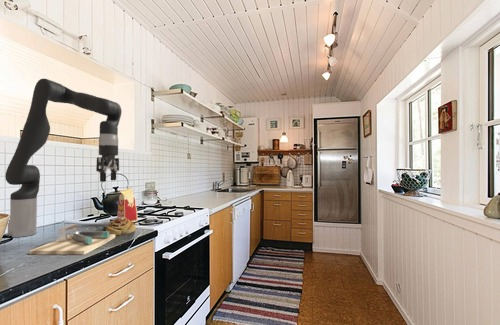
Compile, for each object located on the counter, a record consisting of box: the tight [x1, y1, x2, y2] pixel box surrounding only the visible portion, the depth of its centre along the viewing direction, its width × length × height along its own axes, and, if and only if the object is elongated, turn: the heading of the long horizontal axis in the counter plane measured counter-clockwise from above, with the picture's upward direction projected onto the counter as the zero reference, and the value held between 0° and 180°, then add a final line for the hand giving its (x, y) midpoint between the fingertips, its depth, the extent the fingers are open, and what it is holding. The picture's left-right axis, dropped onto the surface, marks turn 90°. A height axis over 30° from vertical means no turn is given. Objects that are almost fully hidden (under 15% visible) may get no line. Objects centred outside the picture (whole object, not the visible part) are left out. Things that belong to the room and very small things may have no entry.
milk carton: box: [116, 186, 138, 223], centre depth 141 cm, size 9×9×20 cm
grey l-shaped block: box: [57, 223, 79, 241], centre depth 103 cm, size 3×7×5 cm, turn 1°
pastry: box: [105, 217, 137, 237], centre depth 120 cm, size 13×15×8 cm
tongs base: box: [72, 230, 109, 240], centre depth 103 cm, size 15×3×3 cm, turn 91°
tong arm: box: [73, 233, 92, 244], centre depth 99 cm, size 12×2×2 cm, turn 61°
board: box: [28, 234, 116, 256], centre depth 99 cm, size 20×21×2 cm
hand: (108, 180), depth 108 cm, fingers open, 8 cm apart
